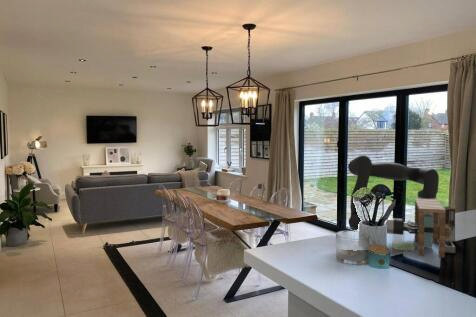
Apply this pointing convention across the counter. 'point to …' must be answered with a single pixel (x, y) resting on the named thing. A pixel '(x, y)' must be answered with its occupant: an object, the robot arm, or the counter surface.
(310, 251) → the counter surface
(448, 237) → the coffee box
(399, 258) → the counter surface
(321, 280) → the counter surface
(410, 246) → the mat
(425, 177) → the robot arm
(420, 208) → the small wooden table
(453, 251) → the pit box
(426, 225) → the teal block
